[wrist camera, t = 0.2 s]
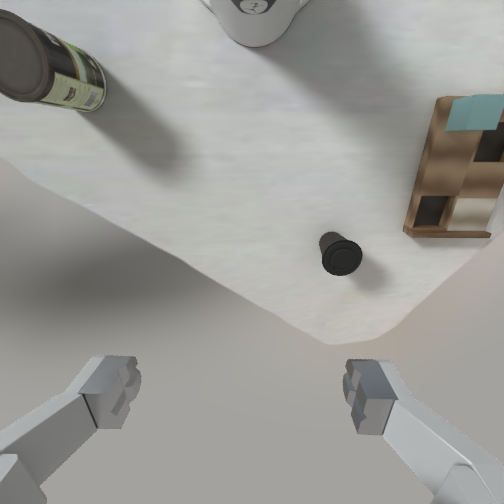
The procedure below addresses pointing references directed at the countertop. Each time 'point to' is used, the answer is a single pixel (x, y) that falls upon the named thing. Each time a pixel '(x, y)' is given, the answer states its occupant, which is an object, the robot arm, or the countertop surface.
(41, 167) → the countertop surface
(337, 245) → the coffee cup
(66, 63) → the coffee can
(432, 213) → the board
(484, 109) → the teal block
